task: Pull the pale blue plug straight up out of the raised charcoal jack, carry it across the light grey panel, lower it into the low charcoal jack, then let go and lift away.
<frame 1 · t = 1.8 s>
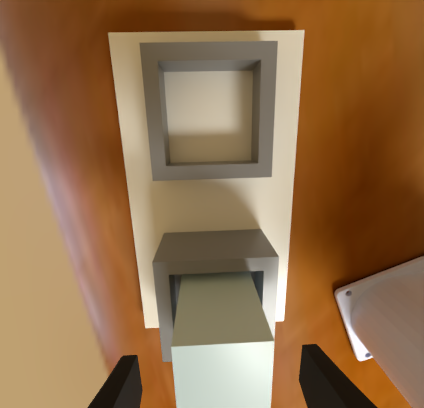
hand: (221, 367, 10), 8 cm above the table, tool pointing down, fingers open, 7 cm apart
plug: (215, 290, 15), point 3 cm above the table
jack panel: (211, 199, 17), on the table
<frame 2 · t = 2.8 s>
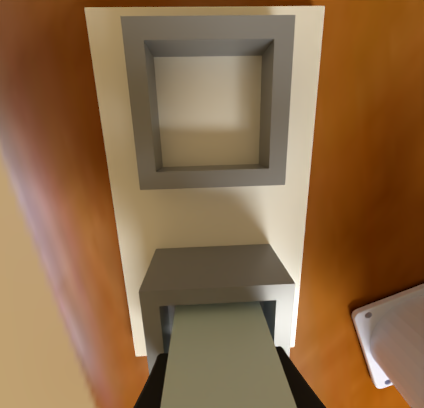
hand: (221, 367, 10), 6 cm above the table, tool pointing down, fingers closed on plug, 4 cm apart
plug: (216, 318, 13), point 3 cm above the table, touching gripper, jack panel
jack panel: (211, 209, 14), on the table
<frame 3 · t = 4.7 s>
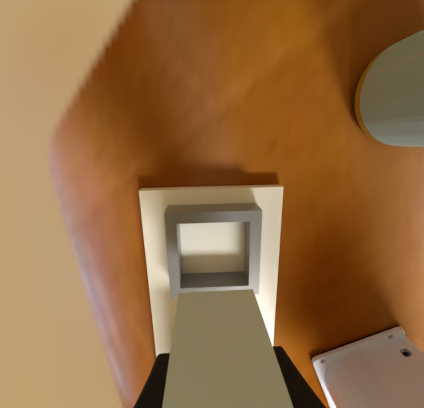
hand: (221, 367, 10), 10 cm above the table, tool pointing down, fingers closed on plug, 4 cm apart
plug: (216, 321, 13), point 8 cm above the table, touching gripper
jack panel: (213, 293, 21), on the table
bottle: (392, 97, 18), on the table
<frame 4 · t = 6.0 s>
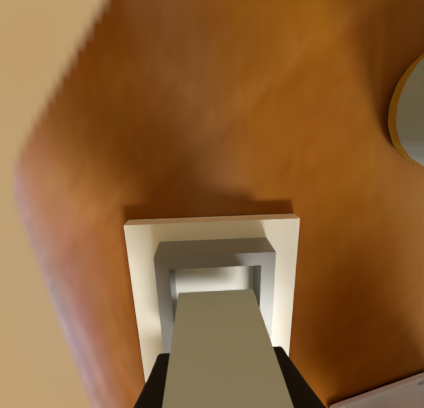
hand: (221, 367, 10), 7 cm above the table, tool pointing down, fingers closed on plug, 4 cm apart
plug: (216, 321, 13), point 4 cm above the table, touching gripper
jack panel: (215, 337, 18), on the table
when the fingers open (4 cm above the table, at t = 7.0 s): plug stays where it is, resting on jack panel.
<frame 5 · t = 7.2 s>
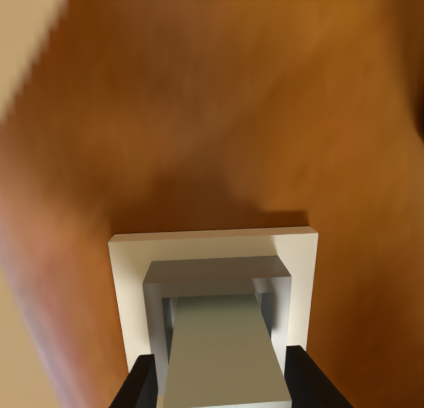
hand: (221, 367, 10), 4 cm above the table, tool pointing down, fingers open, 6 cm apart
plug: (216, 315, 13), point 1 cm above the table, touching jack panel
jack panel: (217, 366, 16), on the table
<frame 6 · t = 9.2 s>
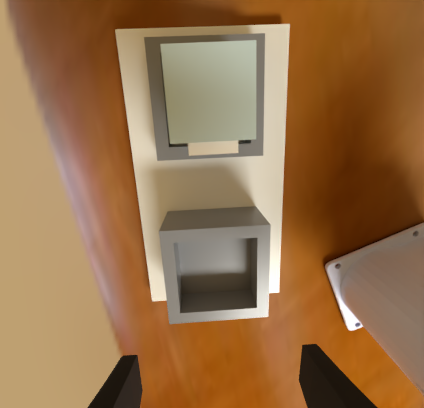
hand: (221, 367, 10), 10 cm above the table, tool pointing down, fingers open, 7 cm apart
plug: (207, 110, 16), point 1 cm above the table, touching jack panel
jack panel: (210, 180, 18), on the table
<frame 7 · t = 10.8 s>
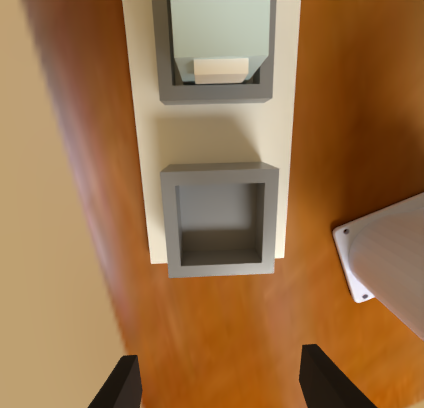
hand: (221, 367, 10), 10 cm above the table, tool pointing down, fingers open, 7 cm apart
plug: (213, 52, 15), point 1 cm above the table, touching jack panel
jack panel: (214, 134, 17), on the table
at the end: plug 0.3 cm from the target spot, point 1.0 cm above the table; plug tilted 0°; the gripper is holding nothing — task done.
